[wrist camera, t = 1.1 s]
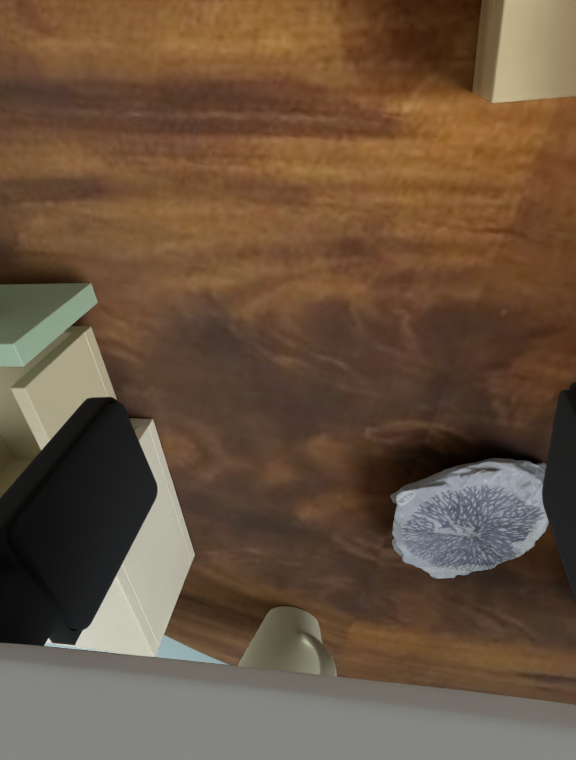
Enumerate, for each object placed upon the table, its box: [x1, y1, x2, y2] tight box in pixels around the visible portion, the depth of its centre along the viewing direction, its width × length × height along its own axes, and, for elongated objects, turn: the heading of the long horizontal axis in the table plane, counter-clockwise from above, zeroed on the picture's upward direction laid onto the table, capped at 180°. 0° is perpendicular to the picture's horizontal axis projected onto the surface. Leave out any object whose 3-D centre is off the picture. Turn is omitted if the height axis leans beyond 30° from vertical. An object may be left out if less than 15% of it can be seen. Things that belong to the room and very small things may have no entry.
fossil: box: [390, 458, 549, 579], centre depth 31 cm, size 11×4×10 cm
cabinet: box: [46, 418, 195, 657], centre depth 34 cm, size 15×13×9 cm
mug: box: [238, 606, 337, 677], centre depth 38 cm, size 11×10×12 cm
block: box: [472, 0, 576, 103], centre depth 16 cm, size 4×4×4 cm
